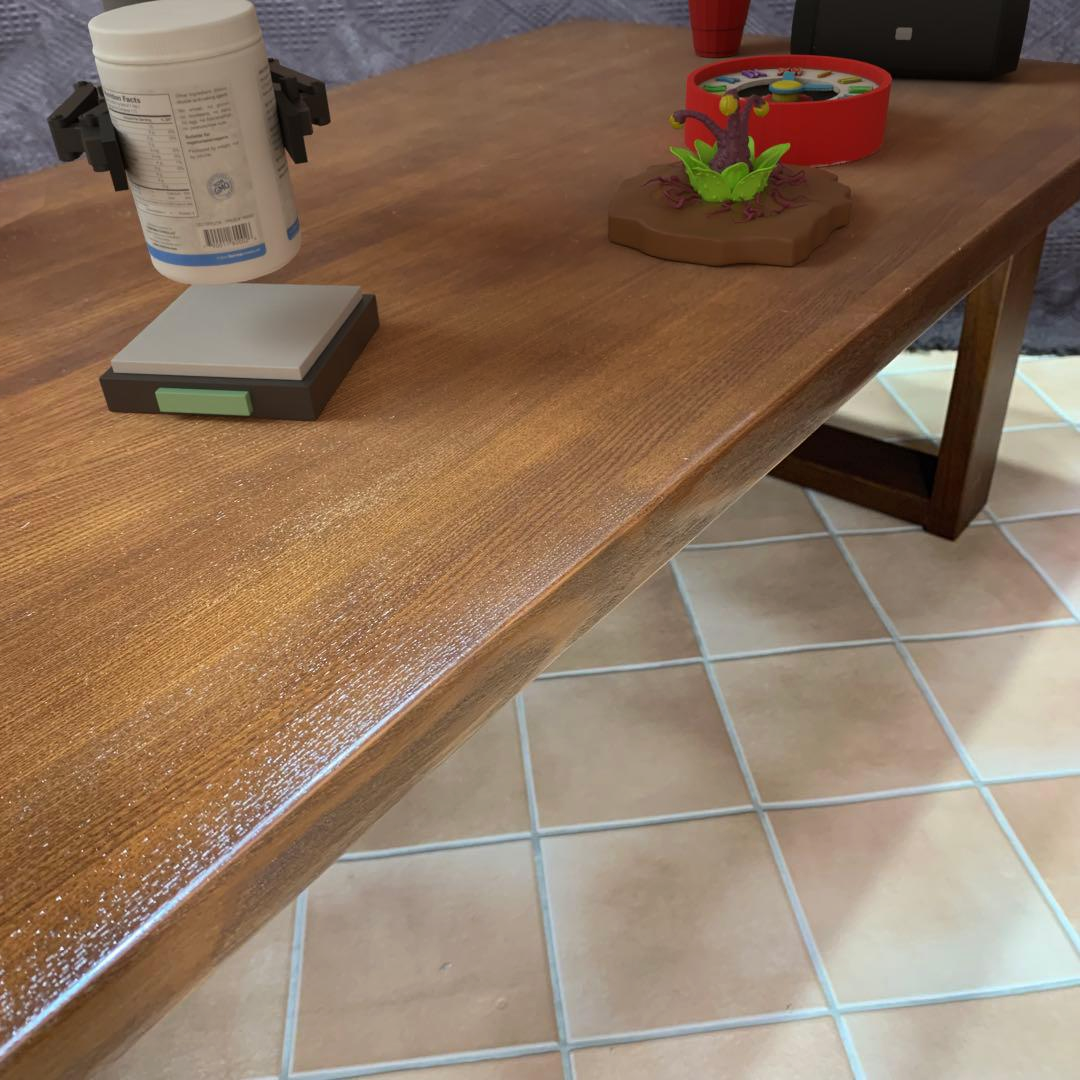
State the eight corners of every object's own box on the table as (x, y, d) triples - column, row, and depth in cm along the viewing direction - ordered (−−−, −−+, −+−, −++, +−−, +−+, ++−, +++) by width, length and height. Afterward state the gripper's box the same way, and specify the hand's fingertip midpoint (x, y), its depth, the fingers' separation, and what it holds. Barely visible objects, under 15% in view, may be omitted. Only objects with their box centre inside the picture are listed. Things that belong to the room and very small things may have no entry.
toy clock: (674, 103, 101) (697, 54, 117) (672, 165, 105) (695, 110, 120) (895, 105, 97) (889, 54, 113) (886, 170, 101) (881, 112, 116)
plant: (575, 253, 88) (571, 109, 81) (646, 178, 102) (647, 51, 95) (824, 278, 81) (842, 124, 74) (862, 195, 96) (880, 60, 89)
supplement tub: (221, 227, 75) (168, -8, 66) (334, 244, 71) (293, -3, 62) (120, 279, 68) (46, 24, 59) (239, 300, 64) (178, 32, 55)
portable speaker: (785, 81, 129) (793, -11, 123) (798, 62, 137) (806, -26, 131) (1013, 89, 121) (1033, -9, 116) (1014, 68, 129) (1032, -25, 123)
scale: (104, 416, 69) (89, 369, 67) (200, 319, 80) (189, 277, 78) (312, 426, 66) (303, 378, 65) (380, 325, 78) (373, 281, 76)
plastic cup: (738, 65, 137) (744, -41, 130) (662, 58, 142) (664, -45, 135) (772, 47, 144) (780, -54, 137) (699, 41, 149) (703, -57, 142)
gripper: (-5, 35, 73) (-24, 111, 56) (316, -2, 79) (389, 57, 62) (31, 147, 78) (24, 250, 61) (333, 105, 83) (405, 188, 66)
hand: (208, 152), depth 61 cm, fingers closed on supplement tub, 9 cm apart
